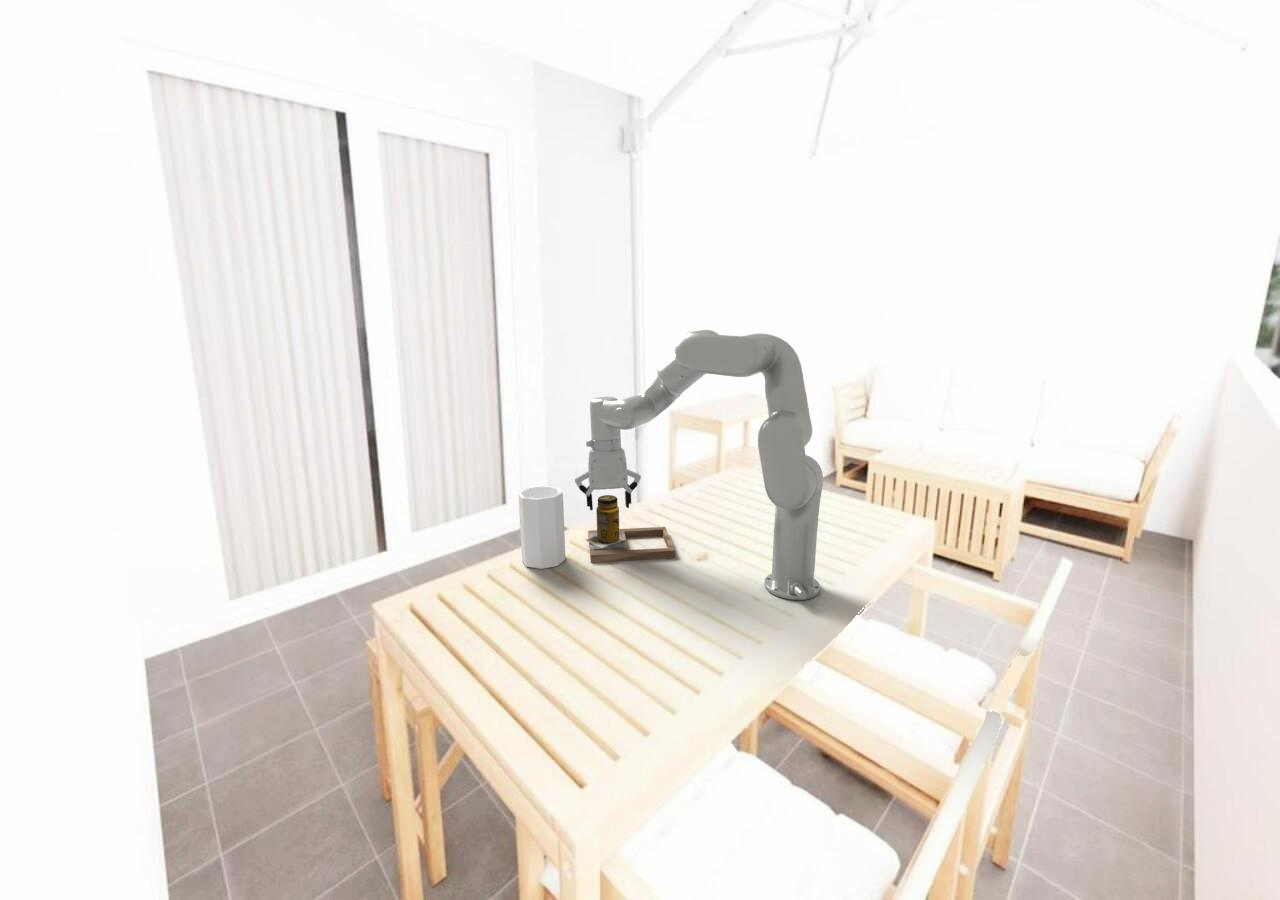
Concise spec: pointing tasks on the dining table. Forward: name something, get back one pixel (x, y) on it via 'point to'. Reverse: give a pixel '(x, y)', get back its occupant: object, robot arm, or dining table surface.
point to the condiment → (607, 522)
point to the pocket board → (623, 553)
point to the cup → (542, 526)
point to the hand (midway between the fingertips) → (609, 507)
